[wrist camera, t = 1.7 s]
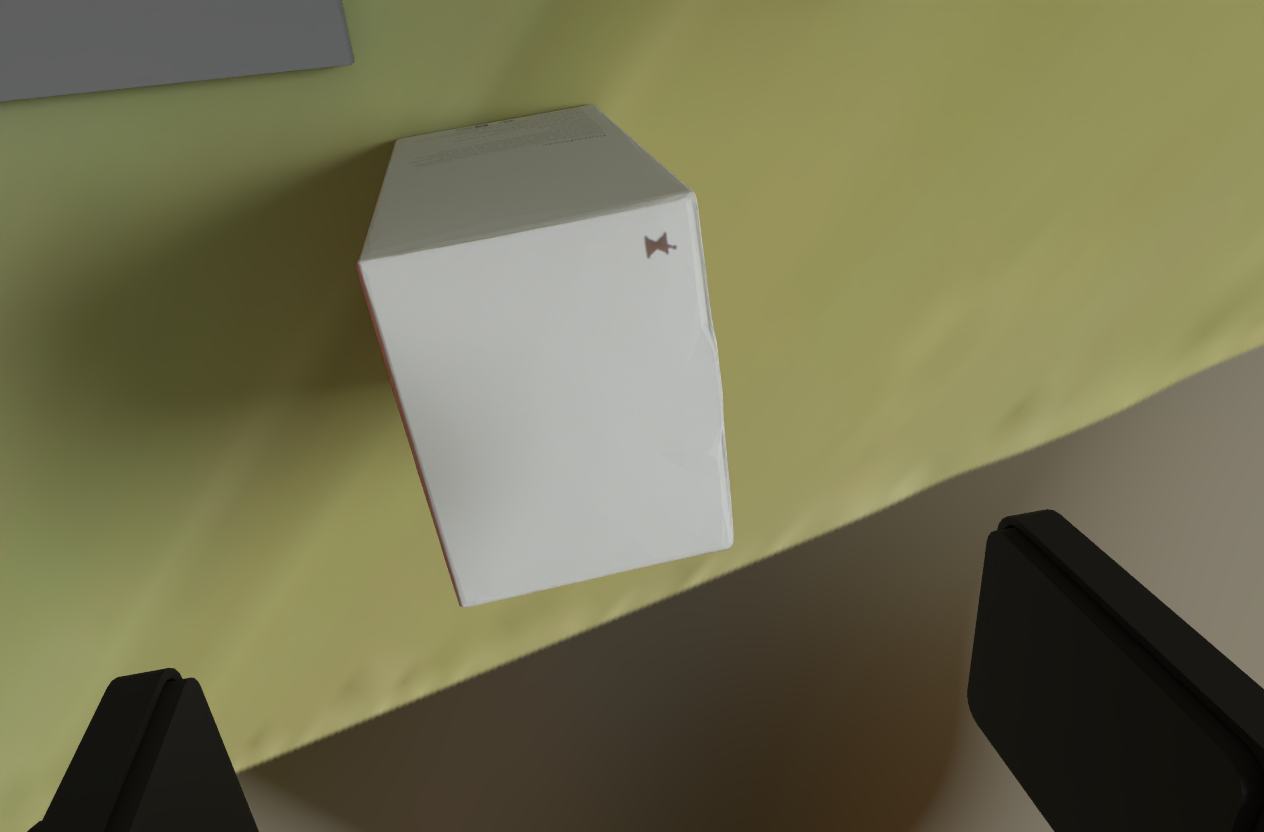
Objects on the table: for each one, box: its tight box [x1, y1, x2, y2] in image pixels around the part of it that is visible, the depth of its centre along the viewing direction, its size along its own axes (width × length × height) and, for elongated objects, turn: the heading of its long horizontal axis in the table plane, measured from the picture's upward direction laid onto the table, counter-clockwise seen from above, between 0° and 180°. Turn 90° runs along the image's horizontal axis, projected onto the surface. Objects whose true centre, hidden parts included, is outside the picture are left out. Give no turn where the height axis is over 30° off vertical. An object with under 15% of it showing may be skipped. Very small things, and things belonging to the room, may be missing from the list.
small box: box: [356, 104, 734, 608], centre depth 23 cm, size 8×6×13 cm
